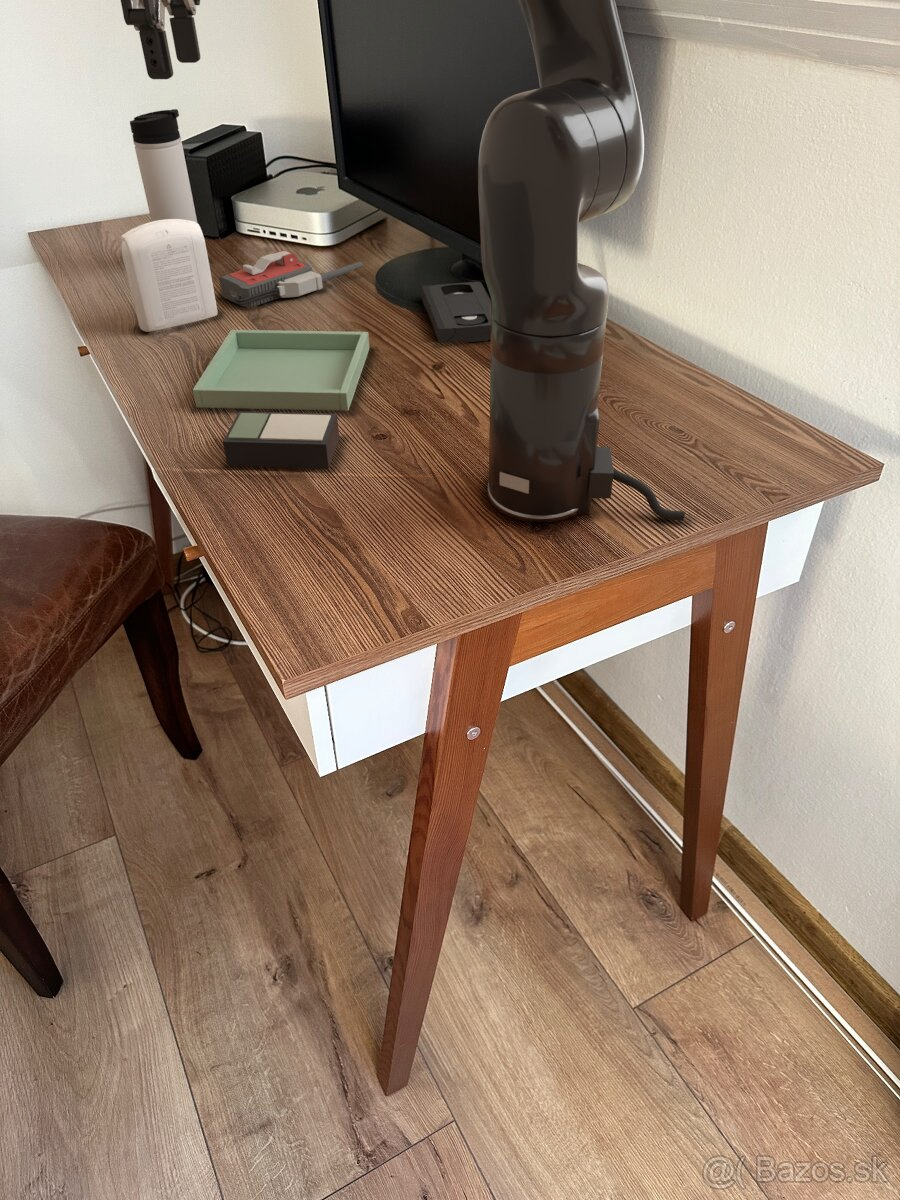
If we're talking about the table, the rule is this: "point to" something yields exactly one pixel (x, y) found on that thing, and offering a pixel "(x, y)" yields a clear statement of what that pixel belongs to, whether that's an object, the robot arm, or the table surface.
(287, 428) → the black rectangular box
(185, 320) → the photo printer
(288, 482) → the table surface
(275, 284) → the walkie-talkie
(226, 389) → the tray
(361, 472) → the table surface
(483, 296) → the vhs tape
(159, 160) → the travel mug
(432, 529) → the table surface
